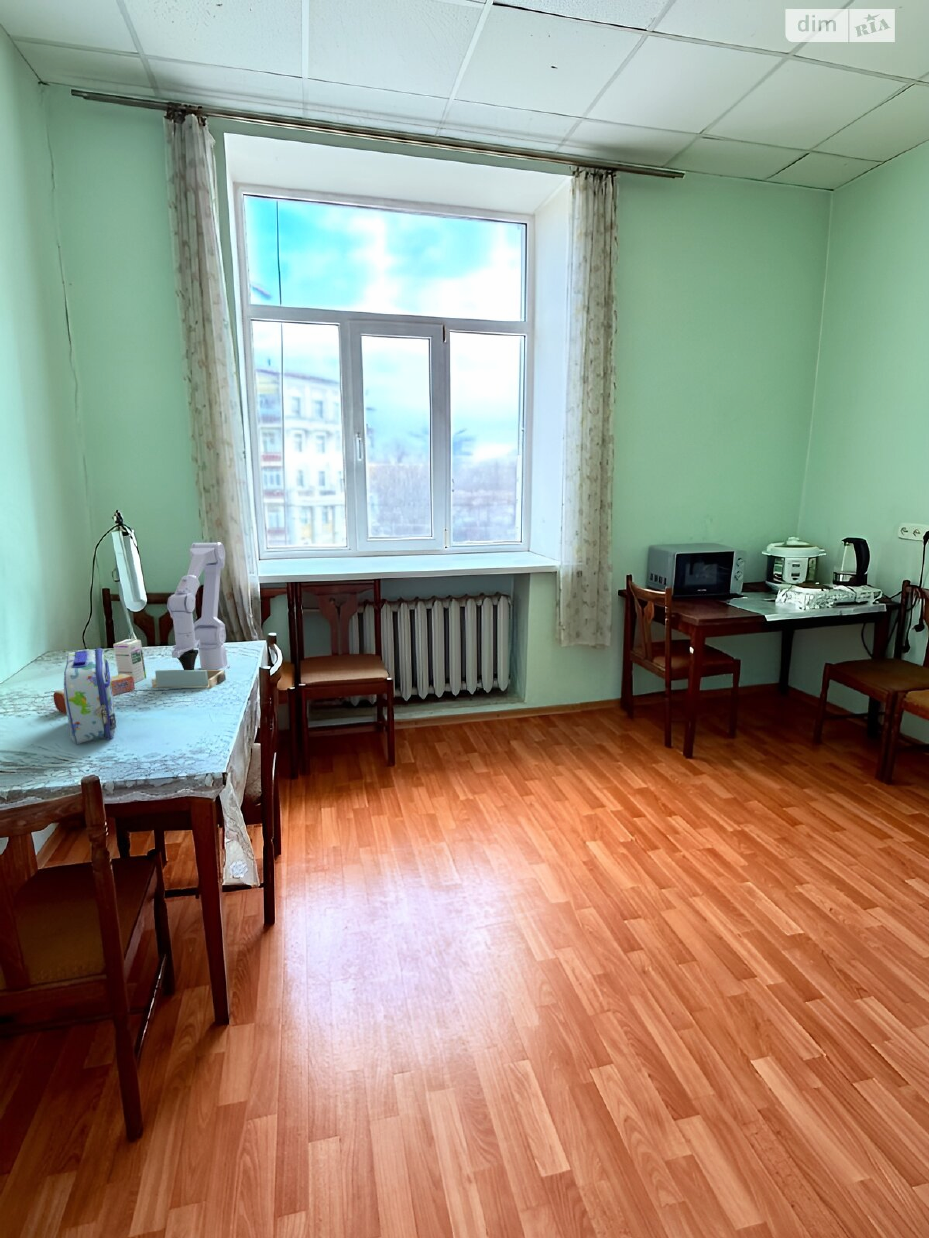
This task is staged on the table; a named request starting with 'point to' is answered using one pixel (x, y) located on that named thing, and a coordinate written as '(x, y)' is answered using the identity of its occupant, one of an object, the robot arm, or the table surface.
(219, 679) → the beige tray
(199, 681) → the tailgate
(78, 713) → the lunch box
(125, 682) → the snack package
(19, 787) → the table surface
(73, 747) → the table surface
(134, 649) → the syrup box
